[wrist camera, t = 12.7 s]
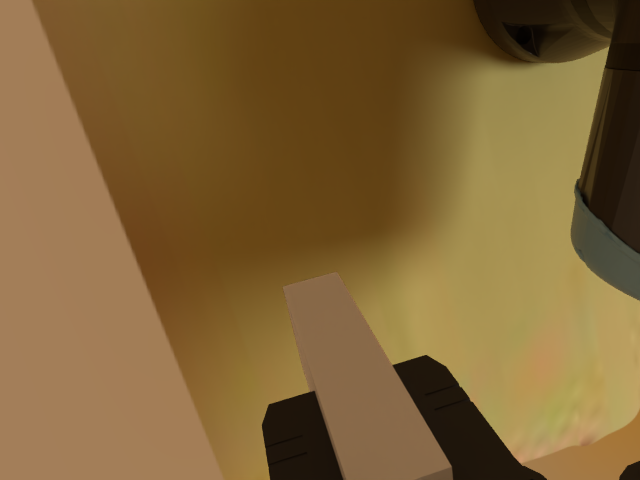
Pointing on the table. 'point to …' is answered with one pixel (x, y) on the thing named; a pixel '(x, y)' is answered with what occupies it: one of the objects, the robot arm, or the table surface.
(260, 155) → the table surface
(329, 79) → the table surface
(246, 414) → the table surface
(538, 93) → the table surface
